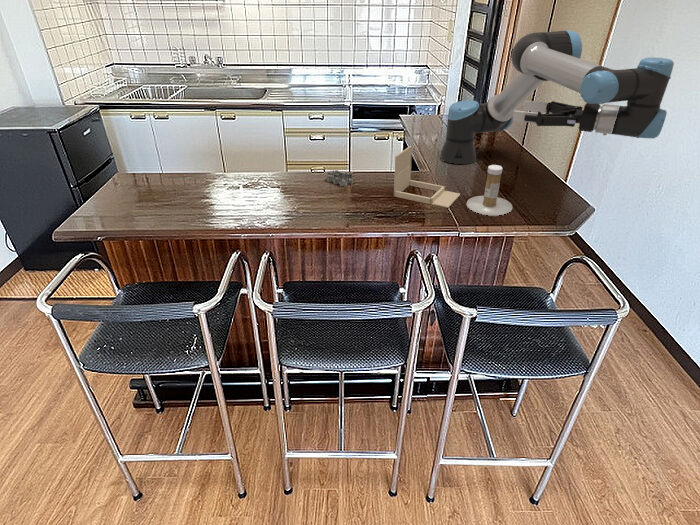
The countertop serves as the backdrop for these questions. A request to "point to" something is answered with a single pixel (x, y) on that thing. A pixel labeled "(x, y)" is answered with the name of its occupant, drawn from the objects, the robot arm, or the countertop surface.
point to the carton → (418, 183)
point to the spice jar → (492, 185)
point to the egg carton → (335, 177)
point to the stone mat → (499, 209)
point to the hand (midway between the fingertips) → (518, 110)
